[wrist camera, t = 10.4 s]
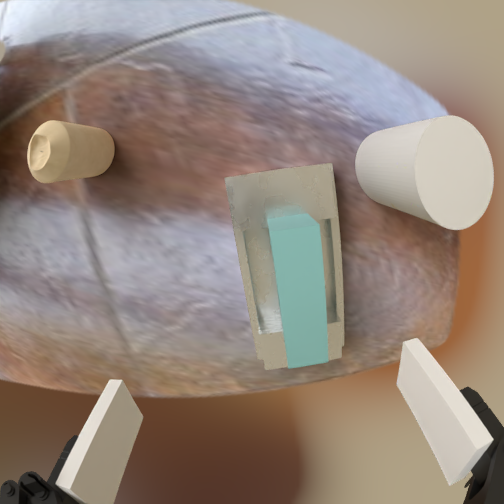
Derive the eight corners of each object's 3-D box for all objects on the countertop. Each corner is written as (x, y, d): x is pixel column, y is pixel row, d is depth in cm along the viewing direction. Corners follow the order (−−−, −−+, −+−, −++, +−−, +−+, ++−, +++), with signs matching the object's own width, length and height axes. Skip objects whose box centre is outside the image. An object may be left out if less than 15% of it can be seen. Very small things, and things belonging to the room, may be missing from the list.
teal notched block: (266, 213, 28) (269, 231, 20) (301, 208, 27) (319, 224, 20) (281, 322, 31) (288, 368, 23) (313, 317, 31) (328, 362, 23)
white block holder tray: (226, 177, 28) (221, 178, 24) (327, 163, 27) (337, 162, 23) (257, 349, 33) (257, 370, 29) (340, 336, 33) (348, 356, 29)
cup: (375, 218, 28) (437, 250, 17) (341, 148, 27) (395, 139, 15) (430, 186, 27) (502, 201, 16) (401, 119, 25) (470, 102, 14)
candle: (74, 135, 26) (15, 131, 17) (113, 122, 26) (58, 109, 16) (78, 181, 28) (20, 191, 18) (118, 171, 27) (63, 176, 18)
